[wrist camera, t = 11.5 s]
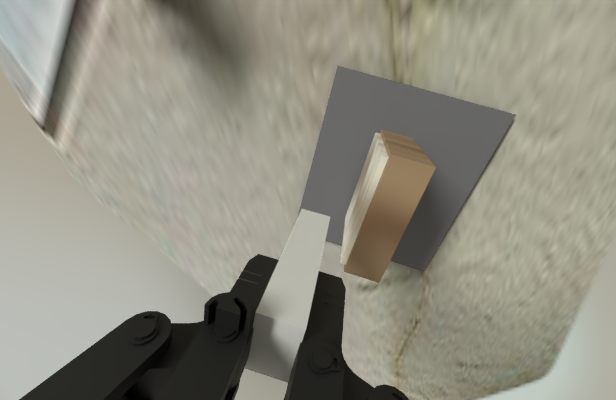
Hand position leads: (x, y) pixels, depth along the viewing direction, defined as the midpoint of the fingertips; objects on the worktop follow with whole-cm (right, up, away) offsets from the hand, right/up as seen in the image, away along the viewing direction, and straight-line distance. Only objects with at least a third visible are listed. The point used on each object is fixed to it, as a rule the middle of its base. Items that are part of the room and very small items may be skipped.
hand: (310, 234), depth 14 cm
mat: (+7, +4, +11) cm, 13 cm away
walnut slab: (+6, +4, +10) cm, 13 cm away
